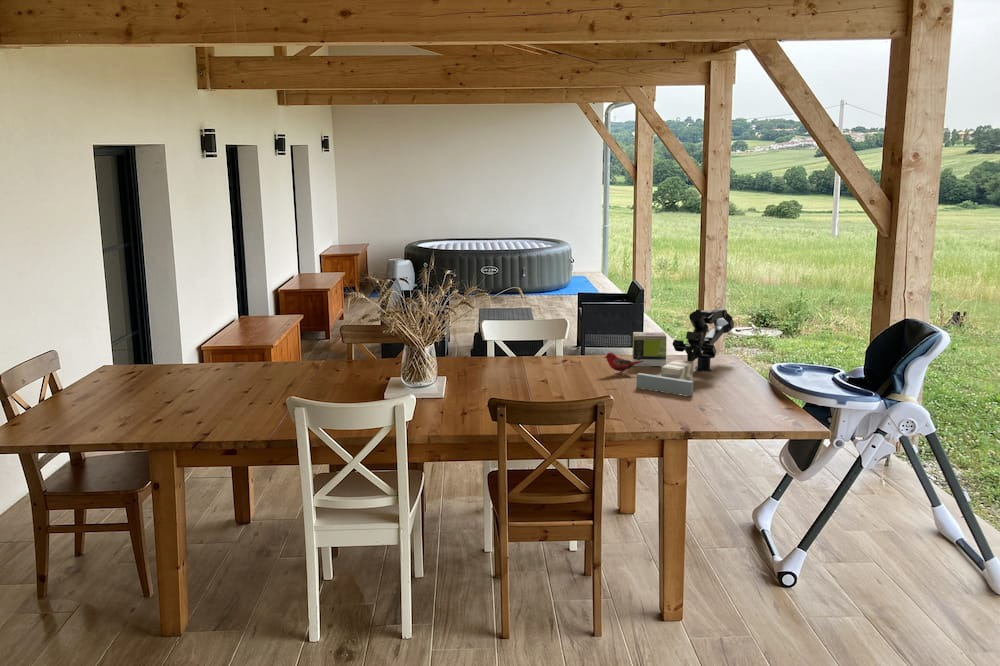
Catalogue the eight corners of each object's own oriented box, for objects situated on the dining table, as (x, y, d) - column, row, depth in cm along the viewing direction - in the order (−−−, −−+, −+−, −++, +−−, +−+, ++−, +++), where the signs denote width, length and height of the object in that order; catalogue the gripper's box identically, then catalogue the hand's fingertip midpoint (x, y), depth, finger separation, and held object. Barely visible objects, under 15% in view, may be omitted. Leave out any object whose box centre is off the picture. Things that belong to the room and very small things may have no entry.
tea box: (664, 362, 412) (665, 331, 409) (665, 367, 403) (667, 336, 399) (631, 361, 414) (632, 331, 411) (632, 366, 404) (633, 335, 401)
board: (639, 386, 370) (639, 372, 369) (692, 395, 357) (693, 381, 356) (636, 388, 368) (636, 374, 367) (690, 396, 355) (691, 382, 354)
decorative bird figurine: (603, 373, 392) (603, 351, 389) (642, 373, 392) (643, 351, 390) (604, 375, 389) (604, 353, 387) (643, 374, 389) (644, 353, 387)
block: (674, 379, 382) (675, 359, 380) (692, 382, 378) (693, 362, 376) (660, 387, 369) (661, 367, 367) (678, 390, 365) (679, 369, 363)
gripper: (674, 321, 388) (663, 350, 382) (715, 326, 378) (704, 356, 372) (681, 336, 396) (670, 364, 390) (720, 341, 386) (710, 370, 380)
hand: (688, 363), depth 382 cm, fingers closed
